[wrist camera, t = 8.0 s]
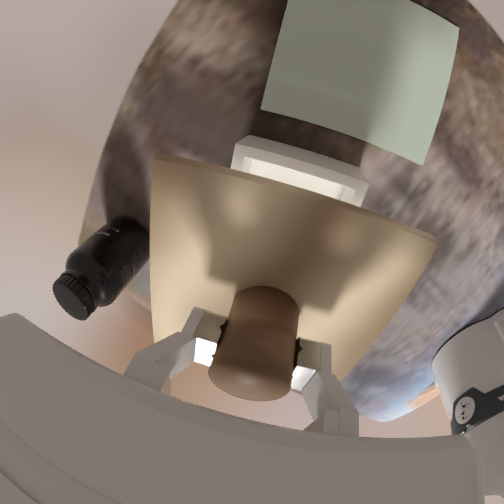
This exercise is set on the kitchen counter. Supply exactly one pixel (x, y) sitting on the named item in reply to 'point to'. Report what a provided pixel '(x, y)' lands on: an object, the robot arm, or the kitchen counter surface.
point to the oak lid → (273, 270)
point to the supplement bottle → (102, 267)
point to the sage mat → (364, 70)
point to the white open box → (300, 169)
